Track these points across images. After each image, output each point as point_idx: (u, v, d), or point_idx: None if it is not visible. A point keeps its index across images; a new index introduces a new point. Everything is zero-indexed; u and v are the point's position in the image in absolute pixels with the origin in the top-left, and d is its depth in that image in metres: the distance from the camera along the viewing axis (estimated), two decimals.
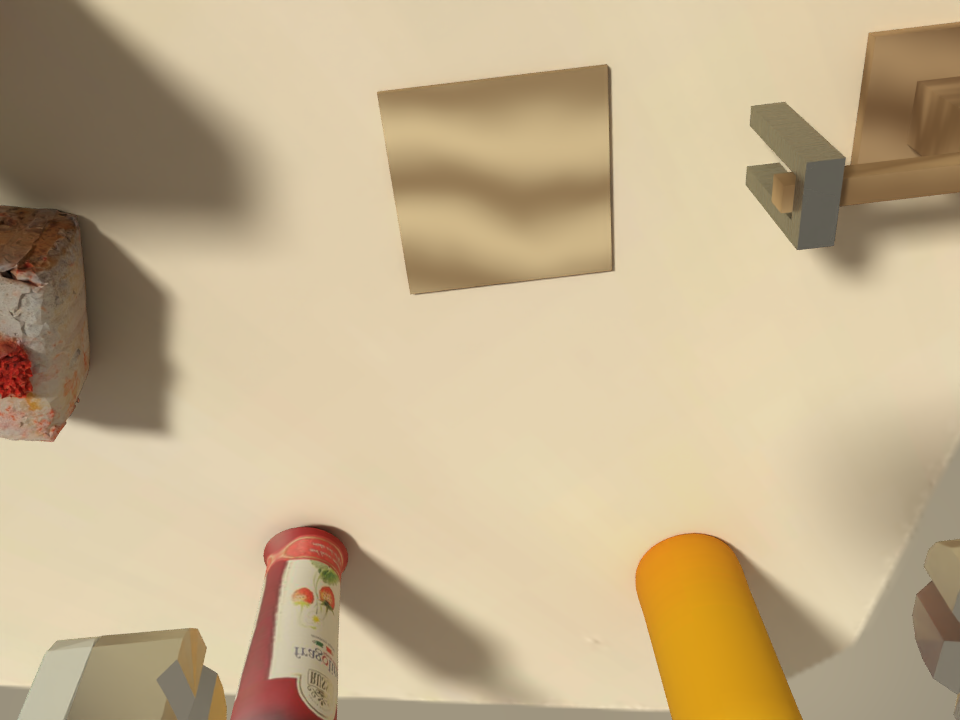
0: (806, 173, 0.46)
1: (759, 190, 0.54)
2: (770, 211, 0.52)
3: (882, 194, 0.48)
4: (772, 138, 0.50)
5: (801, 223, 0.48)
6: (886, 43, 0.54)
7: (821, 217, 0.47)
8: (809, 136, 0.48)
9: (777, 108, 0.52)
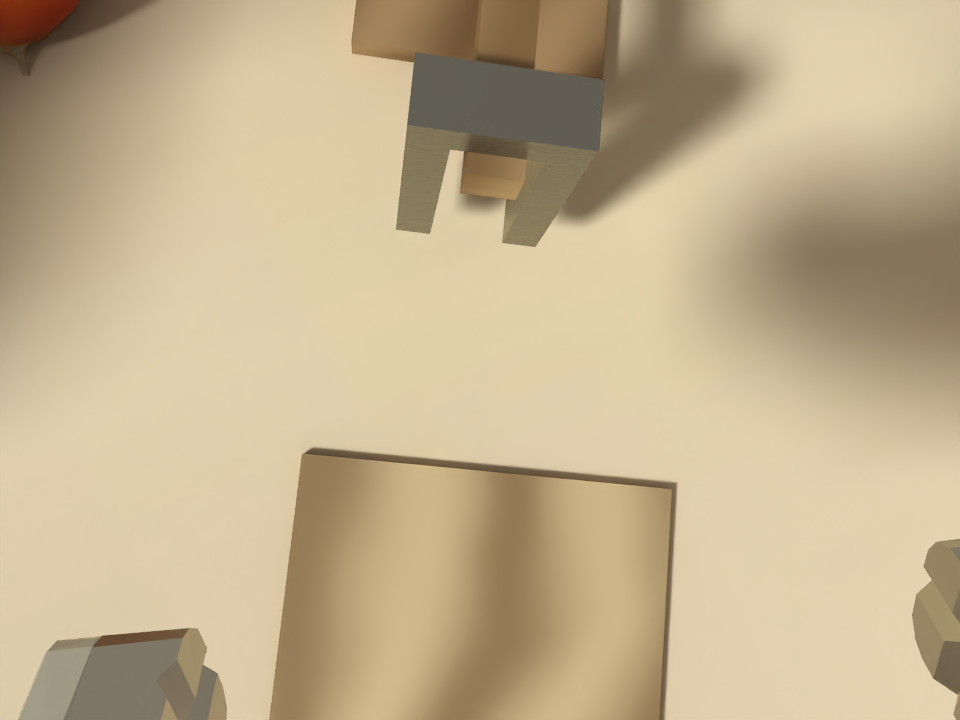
0: (430, 126, 0.23)
1: (529, 223, 0.30)
2: (554, 204, 0.28)
3: None
4: (418, 195, 0.28)
5: (540, 140, 0.23)
6: (365, 25, 0.35)
7: (535, 101, 0.23)
8: None
9: None
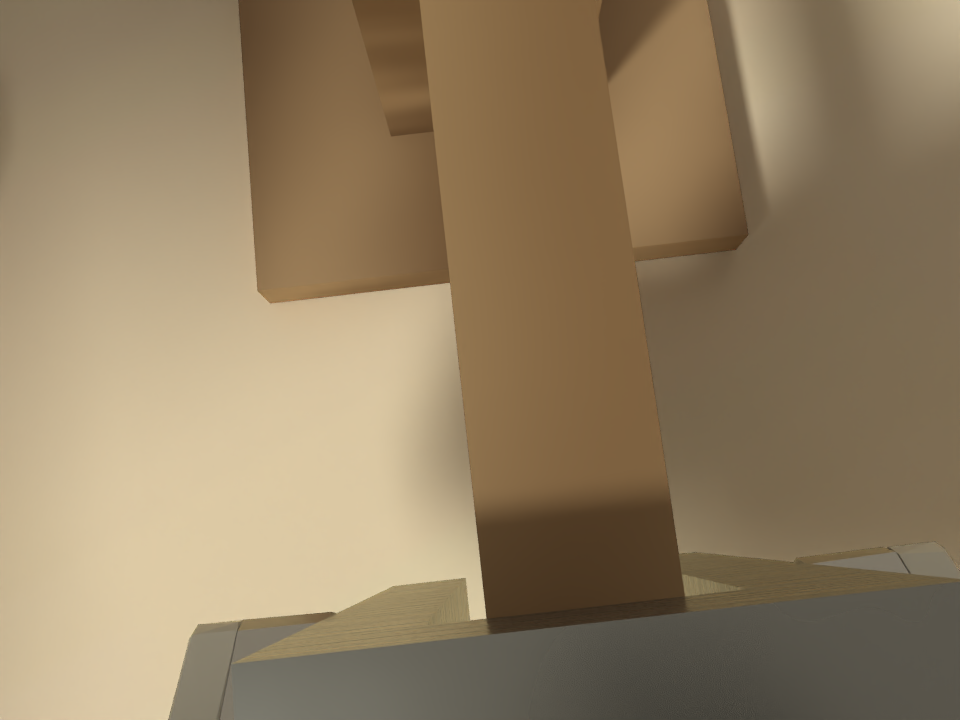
0: None
1: None
2: None
3: (587, 262, 0.08)
4: None
5: None
6: (277, 254, 0.18)
7: None
8: None
9: None
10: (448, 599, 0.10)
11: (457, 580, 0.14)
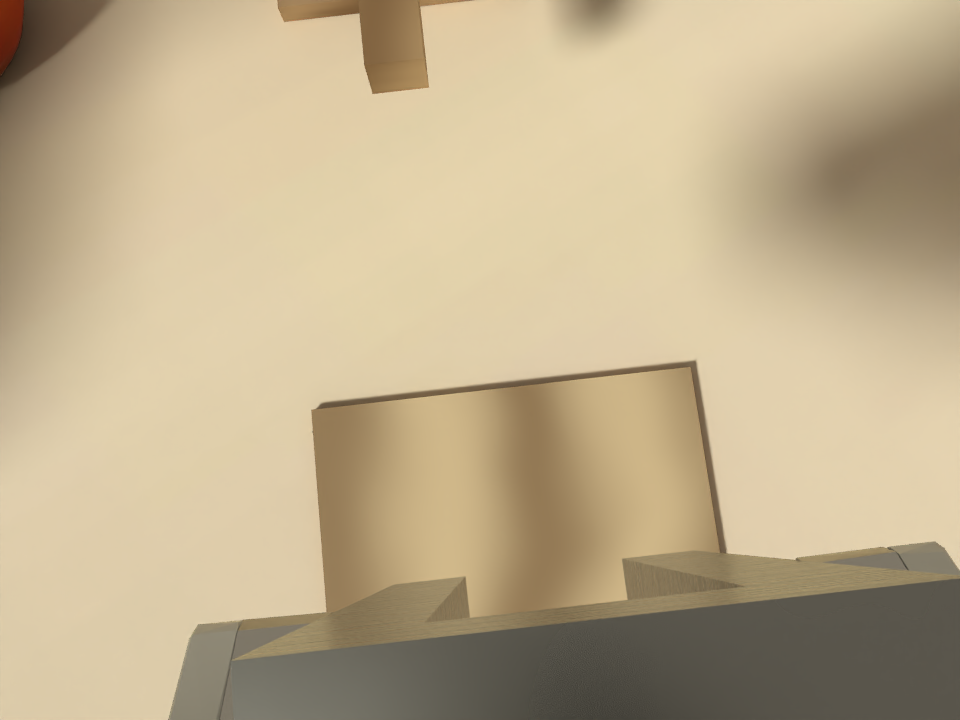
0: None
1: None
2: None
3: None
4: None
5: None
6: None
7: None
8: None
9: None
10: (448, 597, 0.10)
11: (457, 578, 0.14)
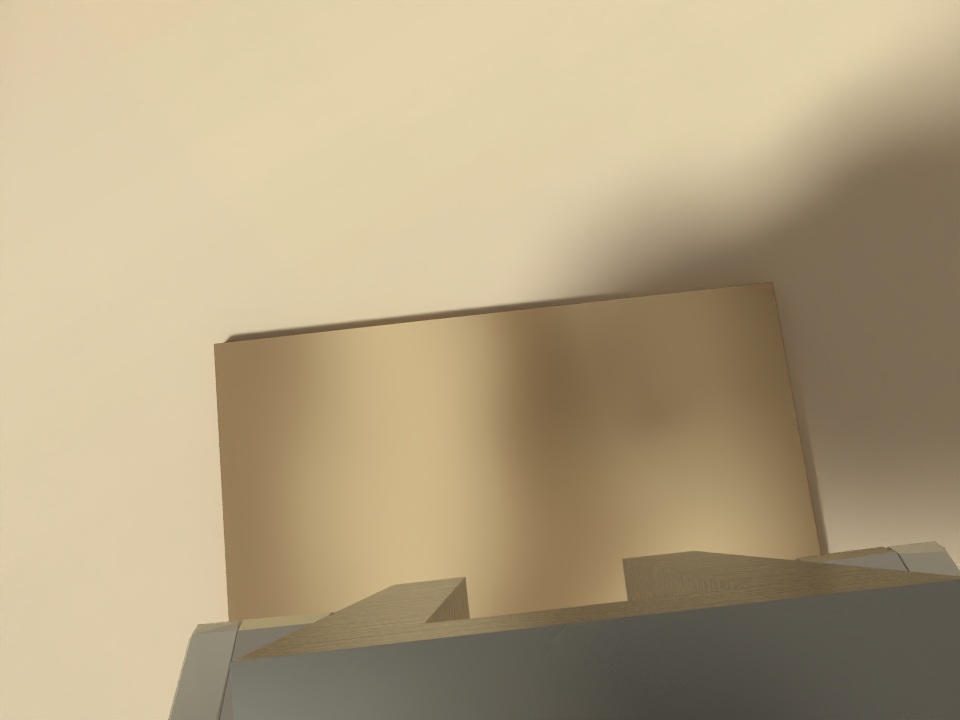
0: None
1: None
2: None
3: None
4: None
5: None
6: None
7: None
8: None
9: None
10: (448, 597, 0.10)
11: (457, 579, 0.14)
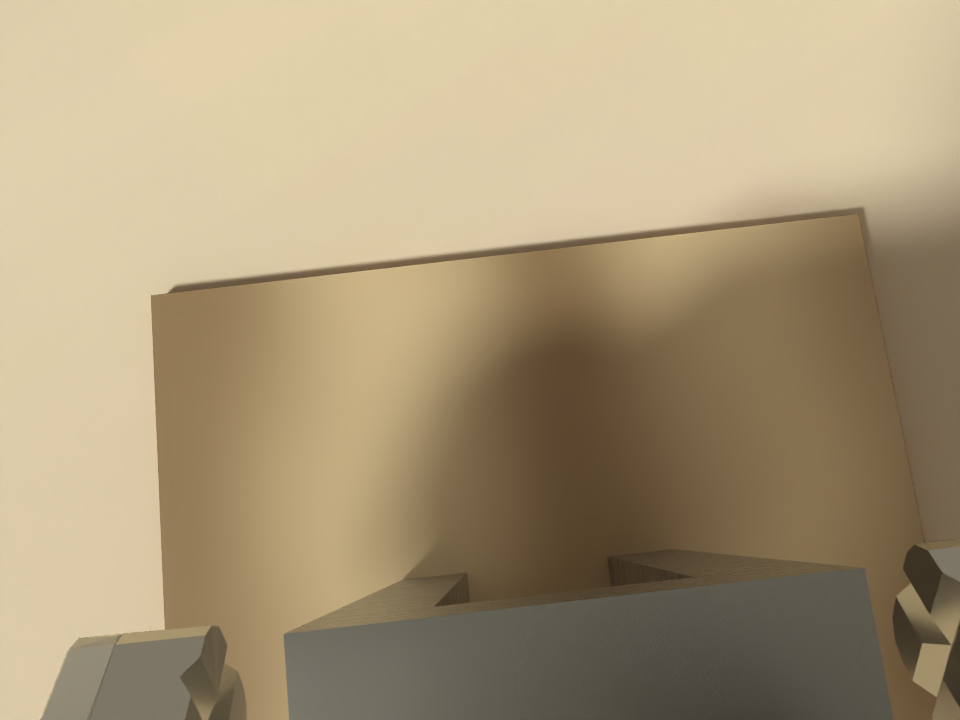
0: None
1: None
2: None
3: None
4: None
5: None
6: None
7: (672, 698, 0.07)
8: None
9: None
10: (452, 589, 0.12)
11: (459, 574, 0.16)
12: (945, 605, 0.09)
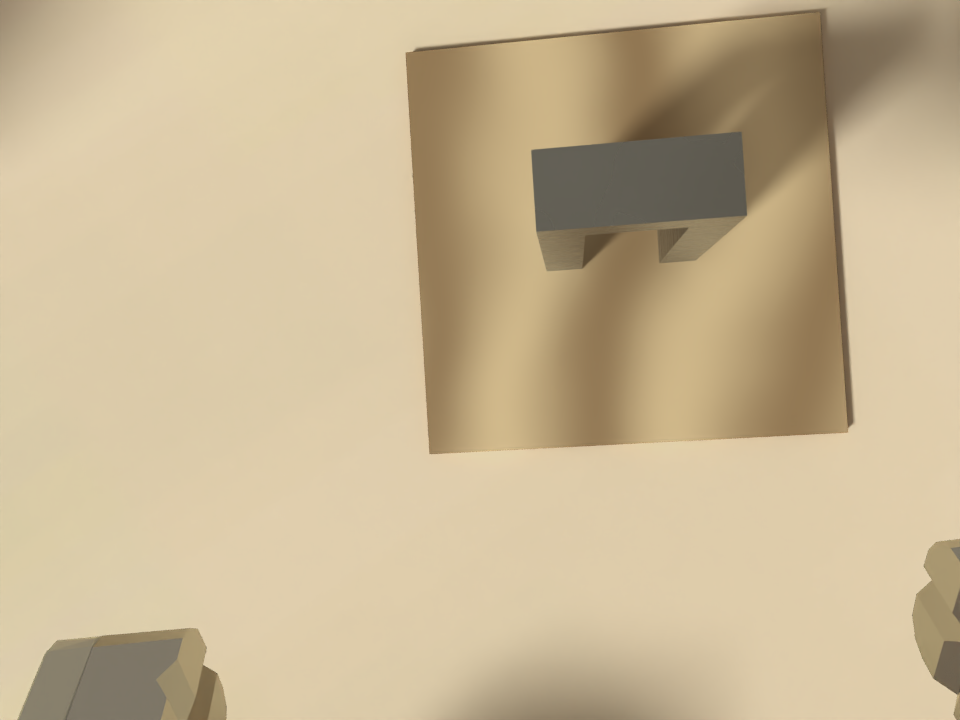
0: (560, 227, 0.22)
1: (684, 252, 0.28)
2: (707, 242, 0.26)
3: None
4: (562, 256, 0.27)
5: (679, 217, 0.21)
6: None
7: (667, 174, 0.21)
8: None
9: None
10: None
11: None
12: None
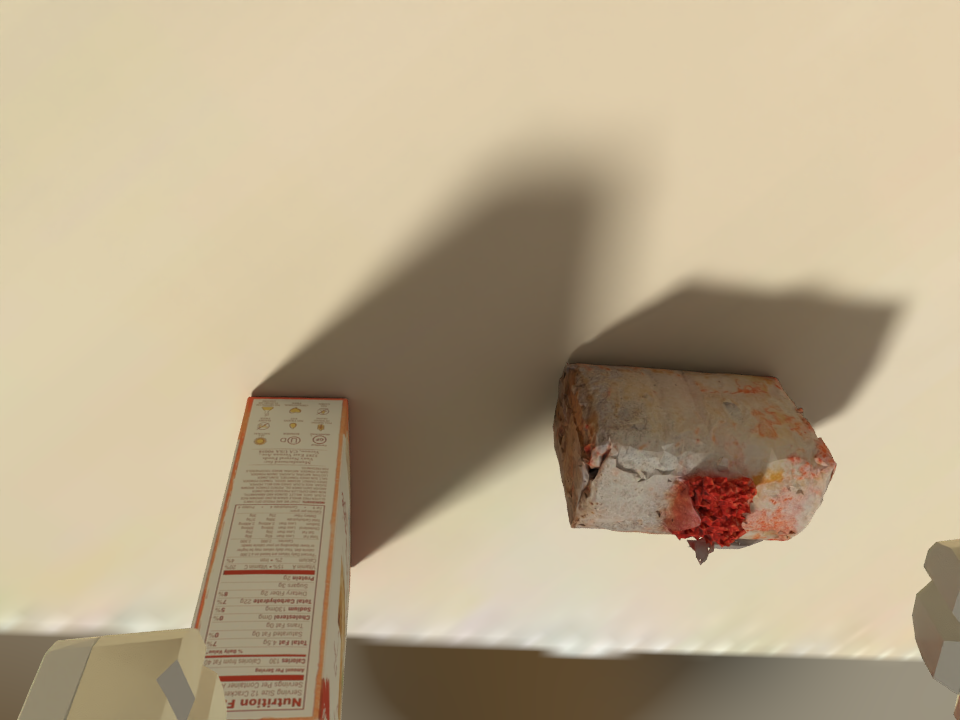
0: None
1: None
2: None
3: None
4: None
5: None
6: None
7: None
8: None
9: None
10: None
11: None
12: None
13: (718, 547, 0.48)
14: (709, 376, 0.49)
